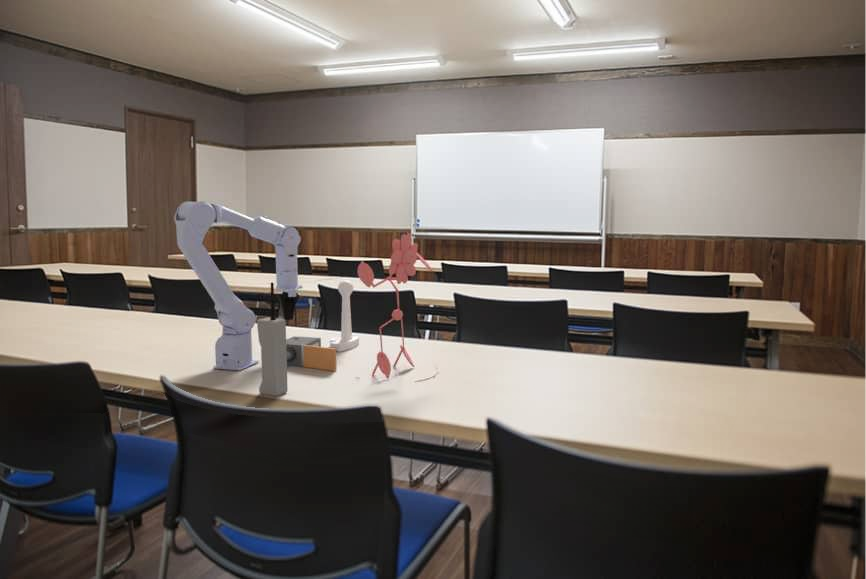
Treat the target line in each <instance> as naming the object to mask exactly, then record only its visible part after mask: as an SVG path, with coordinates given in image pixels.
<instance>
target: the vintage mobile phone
mask: <svg viewBox="0 0 866 579" xmlns="http://www.w3.org/2000/svg"><path fill="white" fill-rule="evenodd" d="M274 285H275V283H274V282H270V300H271V301H270V302H271V303H270V317H264V318H259V319H257V320H256V325H257V333H258V334H257V336H258V343H259V345H260V355H261V356H260V359H261V383H260V386H259V388H258V392H259V394H261V395H265V396H271V397H279V396H281V394H282V395H284V394H287V393H288V390H289V389H288V365H287V353H286V339H287V329H286V327H287V324H286V322H287V320H285V319H284V318H276V304H275V294H274V293H275V292H274V291H275V289H274V287H275V286H274Z"/></svg>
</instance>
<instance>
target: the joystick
mask: <svg viewBox="0 0 866 579" xmlns="http://www.w3.org/2000/svg"><path fill="white" fill-rule="evenodd" d="M337 291H338V292H339V294H340V295H341V300H342V301H341V326H340V327H341V328H340V330H341V332H340V337H332V338H330V340H329V345H330V346H329V348H334V349H336V352H340V353H341V352H344V351H349V350H352V349H354V348H357V347H358V346H359V345H360V337H359V336H353V334H352V333H353V331H352V318H351V317H352V314H351V298H350V297H351V295H352V293H353V292H354V284H353V283H352V281H350V280H348V279H347V280H346V279H344V280H342V281H340V282H339V283H338V286H337Z"/></svg>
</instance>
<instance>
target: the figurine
mask: <svg viewBox="0 0 866 579" xmlns="http://www.w3.org/2000/svg"><path fill="white" fill-rule="evenodd" d="M412 243H413V239H412V234H411V233H407V234H404V233H403V234H402V235H401V236H400V239H398V238H395V239H394V240H392V243H391V246H392V249H393V250H392V251H393V252H392V254H391V256H390V264H389V268H388V274H389V276H387V277H386V278H384V279H383V280H380V281H379V282H377V283H375V284H374V280H375V274H374V272H373V269H372V268H371V267H370V265H369V264H368V263H365V262H364V260H362V261H361V262H360V264H358V266H357V276H358V278H359V280H360V282H362V284H364V285H365V286H366V287H367V288H370V287H372V288H373V289H374V288H376V287H377V286H380V285H381V284H383V283H385V282H387V281H388V282H390V283H391V285H392V287H393V288H394V289H395V292H396V302H397V303H396V304H397V309H394V310H393V311H392V312H391V317H392V318H391V319H390V320H388V321H387V322H385V323H384V324H382V325H381V326H380V327H379V338H380V351H379V352H378V353H377V354H376V355H377V356H376V362H377V363H376V365H375V366H374V369H373V371H372V375H375V373H376V371H377V369H378V368H379V370H380V372H381V373H382V374H383V375H384V377H386V379H389V378H390V375H391V371H392V368H391V367H394V368H396V366H397V364H398V363H399V362H398V361H399V359H400V358H401V355H402V354H403V355H404V357H405V358H406V360H407V361H408V363H409V364H410V365H411V366H412V367H413V368H414V367H415V365H414V363H413V361H412V358H411V357H410V355H409V353H408V352H407V350H406V348H405V340H404V339H405V338H404V324H403V323H404V322H403V316H404V314H403V311H402V310H401V309H400V296H399V295H400V293H399V289H398V287H397V286H396V285H395V283H394V282H393V281H395V280H396V284H397V285H401V283H403V284H407V283H408V279H409V278H408V276H409V277H413V276H415V275H416V272H417V270H416V267H415V264H416V262H417V260H420V262H421V263H422V264H423V265H424V266H425V268H427V269H429V271H431V272H434V270H433V269H432V267H431V266H430V265H429V263H428V262H427V261H426V260H425V259H424V257H422V255H420V253H419V252H418V249H419V248H418V247H419V246H418V243H417V242H415V243H413V244H412ZM394 274H395V277H392V276H393V275H394ZM394 320H395V321H400V324H401V325H400V326H401V337H402V344H400V345H399V347H400V351H399V353H398V355H397V357H396V359H395V361H394V364H393V366H391V361H390V360H389V357H388V355H387V354H386V353H385V352H384V349H383V339H382V338H383V337H382V336H383V335H382V328H383V327H385V326H386V325H388V324H389V323H392V321H394ZM434 368H435V369H436V370H438V368H437V367H436V366H434ZM438 373H439V372H438V371H437V372H436V374H435V375H433V376H431V377H429V378H424V379H420V380H419V382H422V381H426V380H429V379H434V378H435V376H436V375H438ZM355 378H356V379H358V380H360V378H359V377H357V376H356V377H355ZM414 382H415V383H416V382H418V380H416V381H414Z"/></svg>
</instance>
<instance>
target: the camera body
mask: <svg viewBox="0 0 866 579" xmlns="http://www.w3.org/2000/svg"><path fill="white" fill-rule="evenodd" d="M301 345H310V346H318V347H322V341H321V337H311V336H299V335H295V336H292V337H289V338H286V353H287V366H297V367H298V366H299V367H302V352H301Z"/></svg>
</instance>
